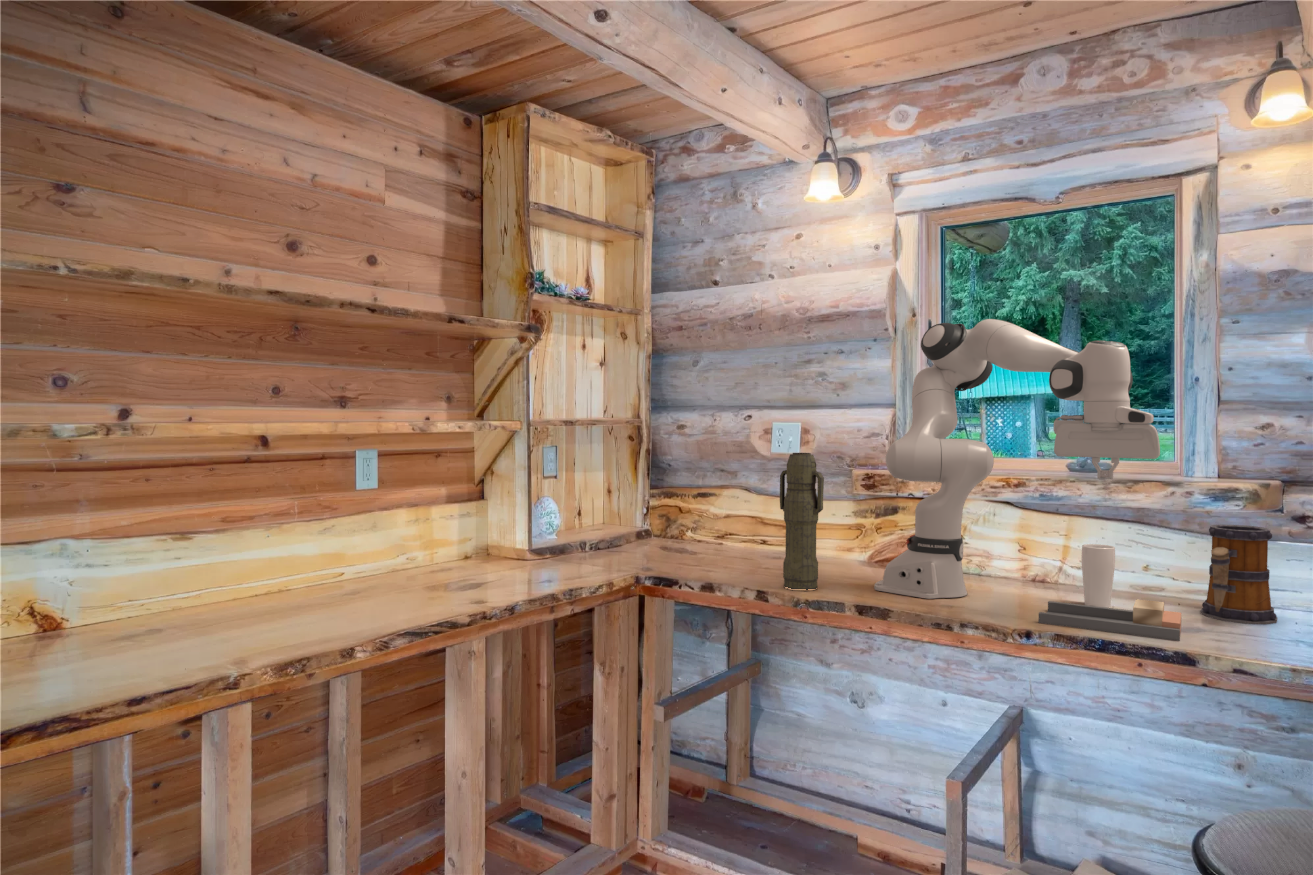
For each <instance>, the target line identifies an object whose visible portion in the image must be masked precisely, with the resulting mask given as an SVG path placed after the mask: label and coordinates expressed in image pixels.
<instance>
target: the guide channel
mask: <svg viewBox="0 0 1313 875" xmlns="http://www.w3.org/2000/svg"><path fill="white" fill-rule="evenodd" d="M1038 624H1044V625H1052V626H1058V627H1059V626H1060V627H1067V628H1074V629H1075V628H1076V629H1083V630H1091V631H1100V632H1106V633H1112V634H1113V633H1114V634H1122V635H1130V636H1137V637H1146V638H1153V639H1161V640H1168V641H1177V642H1180V641H1181V633H1182V632H1181V630H1182V612H1179V611H1178V612H1177V611H1170V610H1164V615H1163V620H1162V627H1161V626H1153V625H1145V624H1137V623H1133V609H1132V610H1131V609H1124V608H1123V609H1122V608H1114V607H1107V608H1106V607H1098V606H1089V605H1085V604H1080V603H1079V604H1078V603H1071V602H1062V601H1054V600H1049V601H1047V612H1045V611H1039V612H1038Z"/></svg>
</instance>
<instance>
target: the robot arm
mask: <svg viewBox="0 0 1313 875" xmlns="http://www.w3.org/2000/svg"><path fill="white" fill-rule="evenodd" d="M920 348H921V350H922V353H923V354H924V356H925V357H926V358H927V359H928V360H930V361H931V363H933V365H932V366H929V367H926V368H923V369H921V370H920V371H919V372H918V373H917V374H915V377H914V381H913V385H912V391H911V405H912V419H911V420H912V422H911V426H910V428H909V429H908V431H907V432H906V433H905V434H904V435H903V436H902V437H901V438H898V439H897V440H894V441H893V442H892V443H891V444H890V445H889V447H888V448H887V451H886V454H885V465H886V468H887V471H888V473H889V474H890V475H891V476H892V477H893V478H895V479H899V480H902V481H909V482H918V483H919V482H925V483H926V482H927V483H928V482H929V483H934V482H935V483H940V484H941V485H940V488H939V489H938V491H937V492H935V493H932V494H931V495H928V496H926V497H925V498H923V499H921V500H920V501H918V503H917V504H916V506H915V510H914V513H915V515H914V516H915V517H914V518H915V520H914V524H915V525H914V528H915V529H914V530H915V531H914V534H911V535H910V536H909V537H908V538H907V539H905V545H906V547H907V549H906V550H905V551H903V552H902V553H901V554H899V555H898V556H896V557H894V558H893V559H892V560H890V561H889V562H887V564H886V566H885V567H884V568H885V569H884V572H883V579H881V580H879V581H878V580H877V581H876V582H875V583H874V584H873V585H874V586H873V589H874V590H875V591H880V592H883V593H884V592H885V593H890V594H897V595H903V596H908V597H914V598H915V597H916V598H922V599H927V600H928V599H929V600H932V599H941V598H943V599H945V598H947V599H949V598H950V599H951V598H960V597H961V598H962V597H966V596H967V595H968V591H967V588H966V583H965V580H964V579H965V578H964V572H963V563H962V562H963V557H964V541H963V537H962V521H963V520H962V519H963V510H964V507H965V503H966V500H967V499H968V498H969V495H970V494H971V492H972V490H974V489H975V488H976V487H977V485H979V484H981V483H982V482H983V481H985V479H987V478H988V477H989V475H990V474H991V472H992V470H993V469H994V468H993V467H994V462H995V461H994V460H995V459H994V454H993V452H992V449H991V448H990V446H989V445H988V444H987V443H986V442H984V441H978V440H975V439H974V440H973V439H971V438H970V439H969V438H948V437H949V436H950V435H951V434H952V433H953V432H954V431H955V429H957V426H958V423H959V422H958V421H959V420H958V410H957V404H956V395H955V391H958V392H965V391H967V390H971V389H974V388H977V387H979V386H981V385H983V384H984V383H986V381H988V379H989V378H990V375H992V372H993V365H995V366H996V367H998V368H1001V369H1003V370H1008V371H1013V372H1018V373H1019V372H1020V373H1021V372H1022V373H1049V377H1048V378H1049V379H1048V384H1049V388H1050V391H1051V393H1052V394H1053V395H1054V396H1055V397H1056V398H1057V399H1060V400H1065V401H1077V402H1079V401H1080V402H1082V401H1083V414H1074V415H1068V414H1063V415H1061V416H1058V417H1056V418H1055V419H1054V421H1053V433H1054V434H1055V438H1054V445H1053V446H1054V447H1053V452H1054V454H1055V455H1056V456H1057V457H1061V458H1062V457H1063V458H1064V457H1070V458H1072V457H1073V458H1091V463H1092V466H1094V468H1095V470H1096V471H1097V473H1096V474H1097V475H1096V476H1097V479H1100V480H1114V471H1115V470H1116V468H1117V467H1118V466H1119V464H1120V459H1138V460H1139V459H1141V460H1142V459H1144V460H1145V459H1146V460H1156V459H1158V458H1159V457H1160V456H1161V445H1160V438H1159V432H1158V430H1157V428H1156V426H1154V425H1152V423H1154V420H1155V419H1154V414H1153V413H1150V412H1147V411H1145V410H1144V411H1143V410H1141V409H1139V408H1132V407H1131V404H1130V403H1131V398H1130V395H1129V392H1130V390H1131V388H1132V385H1133V372H1132V370H1131V357H1130V352H1129V349H1128V347H1127V345H1126V344H1124V343H1122V342H1119V341H1113V340H1110V341H1109V340H1108V341H1107V340H1092V341H1089V342H1088V343H1087V344H1086V345H1085V346H1084V348H1083V349H1082V350H1081V351H1077V350H1075V349H1071V348H1068V347H1066V346H1063V345H1060V344H1058V343H1056V342H1054V341H1052V340H1049V339H1046V338H1045V337H1043V336H1040V335H1039V334H1036V333H1034V332H1031V331H1030V330H1027V329H1025V328H1023V327H1021V326H1019V325H1016V324H1014V323H1012V322H1009V321H1006V320H1002V319H997V318H996V319H994V318H986V319H983V320H981V321H979V322H977V323H976V324H975V325H974V327H972V328H970V329H967V328H966V326H965V324H963V323H959V322H958V323H955V324H954V323H950V322H942V323H937V324H934V325H932V326H931V327H929V328H928V329H927V330H926V331H925V333H924V334H923V335H922V338H921V340H920ZM1102 458H1105V459H1106V458H1108V459H1110V463H1111V464H1113V465H1112V466H1111V468H1110V469H1109V470H1103V469H1102V468H1101V467H1100V465H1099V463H1101V459H1102Z"/></svg>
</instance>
